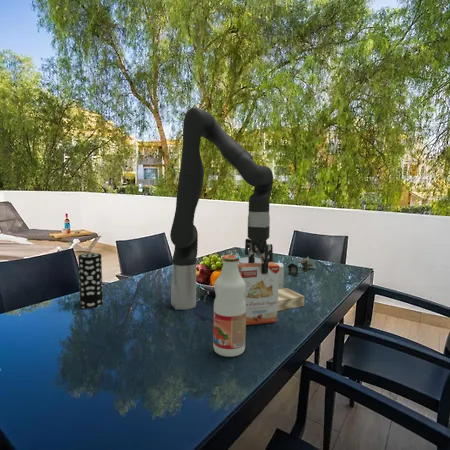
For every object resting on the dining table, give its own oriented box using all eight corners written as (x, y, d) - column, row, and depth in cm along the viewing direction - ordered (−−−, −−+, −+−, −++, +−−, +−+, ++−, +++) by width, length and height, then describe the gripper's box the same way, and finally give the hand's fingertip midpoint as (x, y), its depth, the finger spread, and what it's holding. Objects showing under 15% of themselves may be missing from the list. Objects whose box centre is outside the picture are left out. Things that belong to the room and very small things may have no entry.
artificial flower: (283, 276, 183) (281, 258, 184) (306, 274, 198) (304, 257, 200) (297, 275, 176) (295, 256, 178) (320, 273, 192) (317, 255, 194)
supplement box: (282, 289, 157) (283, 262, 155) (283, 294, 149) (284, 266, 148) (266, 288, 157) (266, 262, 156) (266, 293, 150) (267, 266, 148)
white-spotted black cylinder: (75, 306, 132) (73, 256, 130) (92, 299, 140) (91, 252, 137) (90, 310, 128) (88, 258, 126) (107, 303, 136) (105, 254, 133)
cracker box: (240, 326, 115) (241, 267, 113) (234, 320, 121) (235, 262, 118) (278, 322, 119) (280, 264, 116) (271, 316, 125) (272, 260, 122)
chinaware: (233, 276, 176) (234, 262, 175) (241, 269, 191) (241, 256, 190) (262, 279, 172) (262, 264, 171) (267, 272, 186) (267, 258, 185)
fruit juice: (247, 356, 96) (249, 259, 92) (214, 358, 95) (215, 260, 91) (242, 341, 105) (244, 252, 101) (212, 342, 104) (213, 253, 100)
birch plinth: (268, 312, 128) (268, 302, 128) (252, 302, 139) (252, 293, 138) (304, 305, 136) (304, 296, 135) (286, 296, 146) (286, 287, 146)
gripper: (239, 222, 120) (238, 267, 123) (260, 227, 108) (259, 277, 110) (256, 221, 124) (256, 265, 126) (279, 226, 111) (278, 274, 113)
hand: (257, 270), depth 118 cm, fingers open, 8 cm apart
